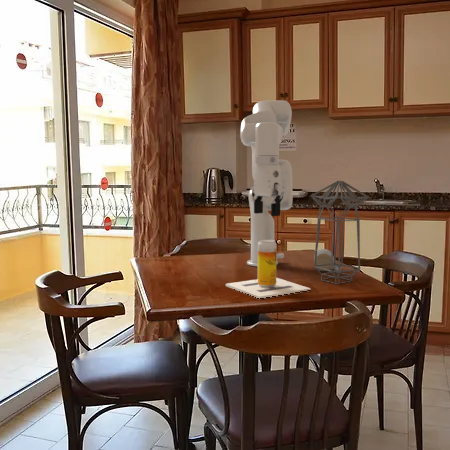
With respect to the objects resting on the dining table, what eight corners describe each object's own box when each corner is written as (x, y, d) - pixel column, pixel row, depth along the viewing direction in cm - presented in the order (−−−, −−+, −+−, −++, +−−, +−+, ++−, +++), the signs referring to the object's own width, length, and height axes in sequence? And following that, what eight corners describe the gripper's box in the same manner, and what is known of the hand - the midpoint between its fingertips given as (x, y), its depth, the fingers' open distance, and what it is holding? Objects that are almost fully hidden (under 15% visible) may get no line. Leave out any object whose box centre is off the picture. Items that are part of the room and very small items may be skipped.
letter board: (274, 279, 187) (274, 276, 186) (310, 290, 169) (310, 288, 169) (225, 286, 177) (225, 283, 176) (259, 299, 159) (259, 296, 159)
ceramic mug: (313, 272, 199) (314, 251, 198) (313, 267, 207) (314, 248, 206) (342, 273, 197) (343, 253, 196) (341, 268, 205) (342, 249, 204)
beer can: (275, 288, 170) (275, 242, 168) (256, 287, 171) (256, 241, 169) (277, 284, 176) (277, 239, 174) (258, 283, 177) (259, 239, 175)
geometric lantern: (305, 279, 186) (307, 180, 183) (338, 275, 194) (341, 180, 191) (335, 287, 173) (338, 180, 170) (370, 283, 181) (373, 181, 178)
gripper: (293, 161, 163) (292, 216, 165) (261, 161, 178) (261, 211, 180) (273, 161, 159) (273, 217, 161) (242, 161, 174) (242, 212, 176)
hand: (266, 214), depth 171 cm, fingers open, 9 cm apart
